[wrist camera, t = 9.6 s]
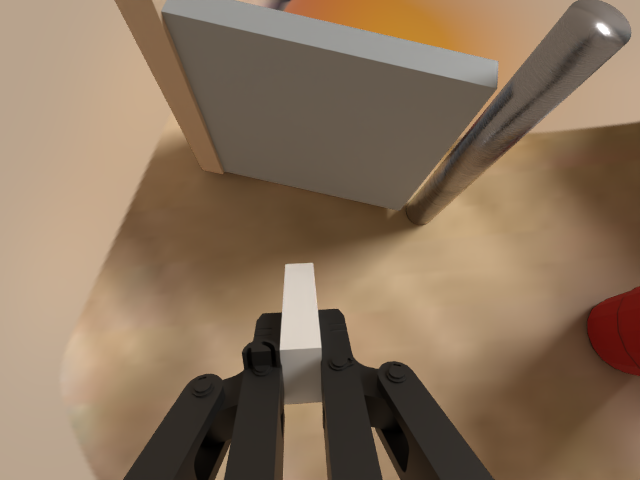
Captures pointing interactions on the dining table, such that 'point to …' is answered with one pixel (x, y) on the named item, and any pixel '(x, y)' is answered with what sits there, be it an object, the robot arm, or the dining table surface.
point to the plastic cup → (617, 331)
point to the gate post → (526, 99)
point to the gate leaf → (308, 96)
